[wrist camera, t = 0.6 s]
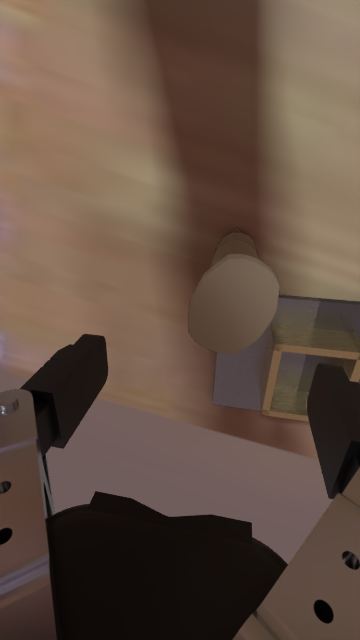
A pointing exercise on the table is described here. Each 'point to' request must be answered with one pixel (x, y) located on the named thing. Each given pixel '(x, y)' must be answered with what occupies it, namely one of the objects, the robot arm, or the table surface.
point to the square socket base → (290, 357)
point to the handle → (233, 297)
